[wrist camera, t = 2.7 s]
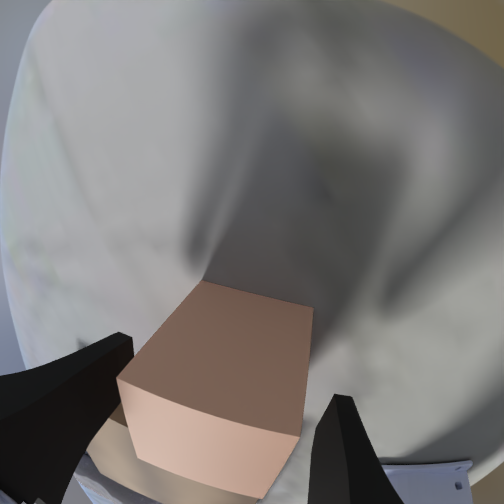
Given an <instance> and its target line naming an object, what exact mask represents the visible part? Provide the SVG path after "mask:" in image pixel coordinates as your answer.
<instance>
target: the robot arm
mask: <svg viewBox="0 0 504 504" xmlns="http://www.w3.org/2000/svg"><path fill="white" fill-rule="evenodd" d="M133 358H134V349H133V340H132V337H130V336H128V335H126V334H123V333H121V332H117V333H115V334H112V335H110V336H108V337H106V338H104V339H102V340H100V341H98V342H96V343H93V344H91V345H89V346H87V347H85V348H83V349H81V350H79V351H76V352H74V353H72V354H70V355H67V356H65V357H63V358H60V359H58V360H55V361H52V362H50V363H47V364H45V365H42V366H39V367H36V368H33V369H29V370H26V371H22V372H18V373H13V374H8V375H2V376H0V504H21V503H22V502H23V501H24V502H25V503H26V504H34V503H37V504H61V503H62V500H63V497H64V494H65V492H66V489H67V487H68V485H69V482H70V480H71V478H72V476H73V474H74V472H75V470H76V468H77V466H78V464H79V462H80V460H81V458H82V456H83V455H84V453H85V451H86V449H87V448H88V446H89V444H90V442H91V441H92V439H93V438H94V437H95V435H96V434H97V433H98V431H99V430H100V429H101V427H102V426H103V425H104V423H105V422H106V421H107V420H108V418H109V417H110V416H111V414H112V413H113V412H114V411H115V409H116V408H117V407H118V405H119V404H120V403H121V397H120V393H119V388H118V384H117V379H116V377H117V376H118V375H119V374H120V373H121V372H122V370H123V369H124V368H125V367H126V366H127V365H128V363H129V362H130V361H131V360H132V359H133ZM472 465H473V463H472V461H471V460H468V461H461V462H452V463H441V464H426V465H381V464H380V462H379V460H378V458H377V456H376V454H375V451H374V449H373V447H372V445H371V442H370V440H369V438H368V436H367V433H366V431H365V428H364V426H363V423H362V421H361V418H360V416H359V413H358V411H357V408H356V406H355V403H354V400H353V398H352V397H351V396H345V395H338V394H334V396H333V398H332V399H331V401H330V403H329V405H328V407H327V409H326V411H325V412H324V414H323V416H322V418H321V420H320V421H319V423H318V425H317V427H316V430H315V435H314V441H313V446H312V452H311V465H310V479H309V492H308V503H307V504H473V500H472V494H471V489H470V484H469V479H468V475H467V470H468V469H469V468H470V467H471V466H472Z"/></svg>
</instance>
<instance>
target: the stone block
mask: <svg viewBox="0 0 504 504" xmlns="http://www.w3.org/2000/svg"><path fill="white" fill-rule="evenodd" d="M74 476H75V478H76V479H77V480H78V481H79V482H80V483H81V484H82V485H83V486H85V487H87V488H89V489H91V490H93V491H94V492H96V493H97V494H99V495H101V496H103V497H105V498H107V499H109V500H111V501H112V502H114V504H163V503H160V502H158V501H156V500H153V499H151V498H149V497H146V496H144V495H142V494H140V493H138V492H135V491H133V490H131V489H129V488H127V487H125V486H123V485H121V484H119V483H117V482H116V481H114V480H112V479H110V478H108V477H106V476H105V475H103V474H101V473H100V472H99V470H98V468H97V467H96V465H95V464H94V462H93V460H92V459H91V457H90V456H88V455H86V454H84V455H83V456H82V458H81V460H80V462H79V464H78V466H77V468H76V470H75V472H74Z"/></svg>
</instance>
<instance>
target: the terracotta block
mask: <svg viewBox="0 0 504 504" xmlns="http://www.w3.org/2000/svg"><path fill="white" fill-rule="evenodd" d="M312 322H313V307H308V306H304V305H299V304H295V303H291V302H286V301H282V300H278V299H274V298H270V297H266V296H261V295H257V294H253V293H249V292H245V291H241V290H237V289H233V288H229V287H226V286H222V285H218V284H214V283H210V282H206V281H203V280H201V281H200V282H199V284H198V285H197V286H196V287H195V288H194V289H193V290H192V291H191V293H190V294H189V295H188V296H187V297H186V298H185V299H184V300H183V302H182V303H181V304H180V305H179V306H178V307H177V308H176V309H175V311H174V312H173V313H172V314H171V315H170V316H169V317H168V319H167V320H166V321H165V322H164V323H163V324H162V325H161V327H160V328H159V329H158V330H157V331H156V332H155V333H154V335H153V336H152V337H151V338H150V339H149V340H148V341H147V343H146V344H145V345H144V346H143V347H142V348H141V349H140V351H139V352H138V353H137V354H136V355H135V356H134V358H133V359H132V360H131V361H130V362H129V363H128V365H127V366H126V367H125V368H124V369H123V370H122V372H121V373H120V374H119V375H118V376H117V377H116V379H117V384H118V388H119V393H120V397H121V401H122V406H123V410H124V413H125V417H126V421H127V425H128V428H129V432H130V435H131V439H132V442H133V445H134V448H135V452H136V455H137V458H139V459H141V460H143V461H145V462H148V463H150V464H152V465H154V466H157V467H159V468H162V469H164V470H167V471H169V472H172V473H174V474H177V475H180V476H182V477H185V478H188V479H191V480H194V481H197V482H200V483H203V484H206V485H209V486H212V487H216V488H219V489H223V490H226V491H230V492H234V493H238V494H242V495H246V496H250V497H255V498H260V499H263V498H264V496H265V495H266V493H267V491H268V490H269V488H270V487H271V485H272V484H273V482H274V481H275V479H276V477H277V476H278V474H279V473H280V471H281V469H282V468H283V466H284V464H285V463H286V461H287V459H288V458H289V456H290V454H291V452H292V451H293V449H294V447H295V445H296V444H297V442H298V440H299V438H300V434H301V427H302V420H303V412H304V404H305V396H306V387H307V378H308V368H309V358H310V347H311V335H312Z"/></svg>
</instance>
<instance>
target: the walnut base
mask: <svg viewBox="0 0 504 504" xmlns="http://www.w3.org/2000/svg"><path fill="white" fill-rule="evenodd" d="M86 450H87V452H88V453H89V455H90V457H91V459H92V460H93V462H94V464H95V465H96V467H97V468H98V470H99V472H100V473H101V474H103V475H105V476H106V477H108V478H110V479H112V480H114V481H116V482H117V483H119V484H121V485H123V486H125V487H127V488H129V489H131V490H133V491H135V492H138V493H140V494H142V495H144V496H146V497H149V498H151V499H153V500H156V501H158V502H160V503H163V504H255V503H256V502H257V500H258V499H259V498H255V497H250V496H246V495H242V494H238V493H234V492H230V491H226V490H223V489H219V488H216V487H212V486H209V485H206V484H203V483H200V482H197V481H194V480H191V479H188V478H185V477H182V476H180V475H177V474H174V473H172V472H169V471H167V470H164V469H162V468H159V467H157V466H154V465H152V464H150V463H148V462H145V461H143V460H141V459H139V458H137V455H136V452H135V448H134V445H133V442H132V439H131V435H130V432H129V428H128V425H127V421H126V417H125V413H124V410H123V406H122V401H121V403H120V404H119V405H118V407H117V408H116V409H115V411H114V412H113V413H112V414H111V416H110V417H109V418H108V420H107V421H106V422H105V423H104V425H103V426H102V427H101V429H100V430H99V431H98V433H97V434H96V435H95V437H94V438H93V439H92V441H91V442H90V444H89V446H88V448H87V449H86Z"/></svg>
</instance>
